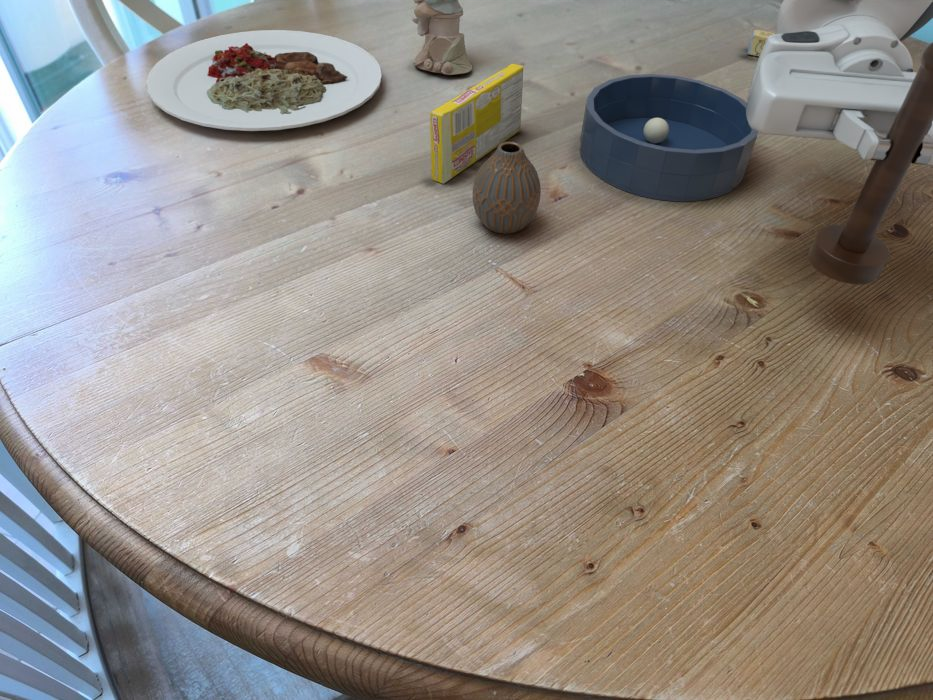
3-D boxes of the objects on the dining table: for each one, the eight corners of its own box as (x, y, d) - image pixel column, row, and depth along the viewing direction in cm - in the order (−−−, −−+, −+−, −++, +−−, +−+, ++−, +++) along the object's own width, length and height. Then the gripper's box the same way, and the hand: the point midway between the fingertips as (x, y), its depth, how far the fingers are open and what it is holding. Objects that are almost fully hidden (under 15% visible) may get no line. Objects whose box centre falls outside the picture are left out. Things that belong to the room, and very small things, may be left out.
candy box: (506, 126, 94) (512, 61, 89) (521, 131, 93) (527, 66, 88) (428, 179, 84) (428, 109, 79) (443, 185, 84) (445, 115, 78)
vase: (487, 248, 75) (493, 170, 69) (460, 212, 80) (463, 136, 74) (548, 234, 77) (558, 158, 71) (518, 200, 82) (526, 125, 76)
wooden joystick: (868, 246, 67) (980, 25, 54) (889, 288, 63) (1016, 59, 49) (800, 240, 67) (895, 19, 54) (816, 281, 63) (924, 52, 50)
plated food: (319, 162, 86) (316, 135, 84) (98, 114, 92) (90, 87, 90) (415, 64, 107) (415, 40, 105) (230, 30, 113) (226, 6, 111)
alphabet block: (748, 48, 116) (754, 28, 114) (768, 51, 116) (775, 31, 113) (746, 55, 114) (752, 35, 112) (767, 59, 113) (774, 38, 111)
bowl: (730, 126, 97) (743, 81, 93) (758, 208, 83) (775, 160, 79) (578, 113, 98) (585, 68, 94) (580, 193, 84) (589, 144, 79)
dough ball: (677, 122, 90) (668, 138, 89) (664, 136, 93) (655, 152, 91) (656, 108, 90) (648, 124, 89) (644, 123, 93) (635, 138, 91)
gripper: (953, 120, 69) (1019, 202, 59) (729, 101, 70) (756, 178, 60) (990, 52, 64) (1067, 127, 54) (750, 32, 65) (783, 103, 55)
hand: (902, 154), depth 57 cm, fingers closed on wooden joystick, 2 cm apart
